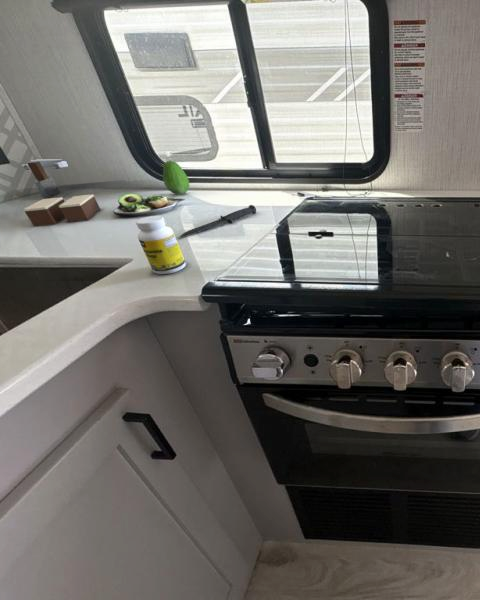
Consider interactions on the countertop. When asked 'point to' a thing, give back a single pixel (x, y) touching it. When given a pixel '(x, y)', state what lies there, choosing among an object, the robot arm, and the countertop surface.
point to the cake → (62, 210)
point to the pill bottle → (160, 245)
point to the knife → (223, 220)
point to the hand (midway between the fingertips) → (41, 166)
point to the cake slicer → (43, 180)
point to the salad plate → (144, 205)
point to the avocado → (175, 178)
